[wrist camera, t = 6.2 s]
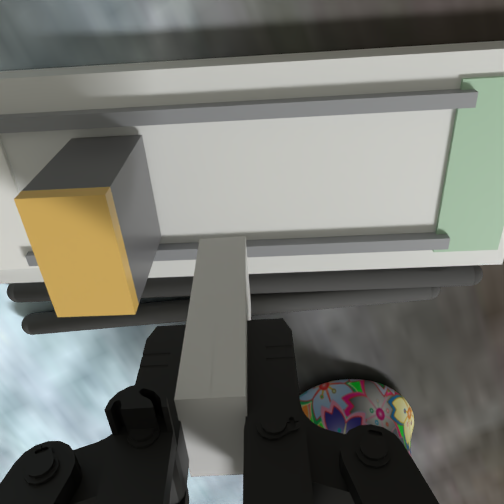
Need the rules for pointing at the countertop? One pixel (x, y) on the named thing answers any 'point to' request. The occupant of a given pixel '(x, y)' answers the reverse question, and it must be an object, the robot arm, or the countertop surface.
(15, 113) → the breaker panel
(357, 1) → the countertop surface
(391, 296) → the cable
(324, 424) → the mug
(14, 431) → the countertop surface
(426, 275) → the cable
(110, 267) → the block
